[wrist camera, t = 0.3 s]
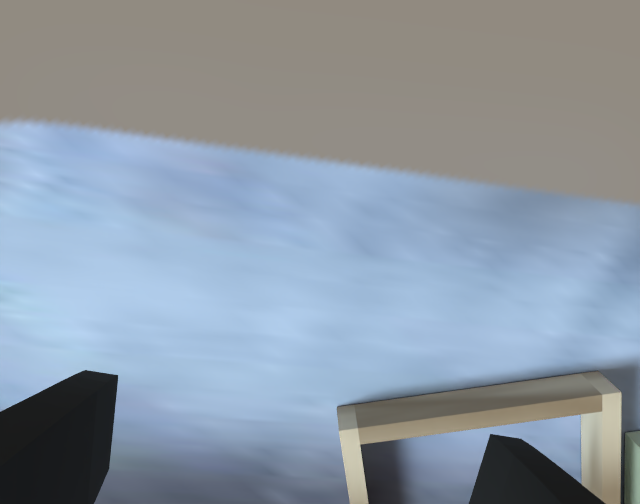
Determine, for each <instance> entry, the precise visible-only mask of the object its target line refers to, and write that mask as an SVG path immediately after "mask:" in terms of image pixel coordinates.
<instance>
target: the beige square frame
mask: <svg viewBox="0 0 640 504" xmlns="http://www.w3.org/2000/svg"><path fill="white" fill-rule="evenodd" d="M621 396H622V392H621V391H620V390H619V389H618V388H616V387H615V386H614V385H613V384H612V383H611V382H610V381H609V380H608V379H607V378H605V377H604V376H603V375H602V374H601V373H600V372H599V371H594V372H586V373H579V374H572V375H565V376H557V377H550V378H543V379H536V380H528V381H521V382H514V383H507V384H499V385H492V386H485V387H478V388H471V389H463V390H456V391H449V392H442V393H434V394H427V395H420V396H413V397H405V398H398V399H391V400H384V401H376V402H369V403H362V404H355V405H348V406H340V407H337V415H338V426H339V435H340V441H341V448H342V454H343V461H344V467H345V474H346V480H347V487H348V493H349V500H350V504H368V496H367V489H366V482H365V475H364V468H363V461H362V454H361V447H360V445H361V444H368V443H376V442H383V441H390V440H397V439H405V438H412V437H419V436H427V435H434V434H441V433H449V432H456V431H463V430H471V429H478V428H485V427H493V426H500V425H507V424H515V423H522V422H529V421H537V420H544V419H551V418H558V417H566V416H573V415H580V414H581V469H582V485H583V486H584V487H585V488H587V489H588V490H589V491H590V492H592V493H593V494H594V495H595V496H597V497H598V498H599V499H600V500H602V501H603V502H604V503H606V504H620V487H621Z"/></svg>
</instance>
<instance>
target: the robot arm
mask: <svg viewBox="0 0 640 504" xmlns="http://www.w3.org/2000/svg"><path fill="white" fill-rule="evenodd" d="M117 383H118V375H113V374H106V373H100V372H93V371H87V370H85V371H82V372H80V373H78V374H75V375H73V376H71V377H69V378H67V379H65V380H63V381H61V382H59V383H57V384H55V385H53V386H51V387H49V388H47V389H45V390H43V391H41V392H39V393H37V394H35V395H33V396H31V397H29V398H27V399H25V400H23V401H21V402H19V403H17V404H15V405H13V406H11V407H9V408H7V409H5V410H3V411H1V412H0V504H94V502H95V500H96V498H97V495H98V493H99V491H100V488H101V486H102V484H103V482H104V479H105V477H106V475H107V472H108V470H109V463H110V453H111V443H112V433H113V423H114V413H115V403H116V393H117ZM469 504H606V503H604V502H603V501H602V500H600V499H599V498H598V497H597V496H595V495H594V494H593V493H592V492H590V491H589V490H588V489H587V488H585V487H584V486H583V485H582V484H580V483H579V482H578V481H577V480H575V479H574V478H573V477H571V476H570V475H569V474H568V473H566V472H565V471H564V470H563V469H561V468H560V467H559V466H558V465H556V464H555V463H554V462H552V461H551V460H550V459H549V458H547V457H546V456H545V455H543V454H542V453H541V452H539V451H538V450H537V449H535V448H534V447H532V446H531V445H529V444H528V443H526V442H525V441H523V440H522V439H519V438H512V437H506V436H500V435H493V434H490V437H489V440H488V444H487V447H486V450H485V453H484V457H483V460H482V463H481V466H480V469H479V473H478V476H477V479H476V482H475V486H474V489H473V492H472V495H471V499H470V502H469Z"/></svg>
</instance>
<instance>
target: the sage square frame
mask: <svg viewBox="0 0 640 504" xmlns="http://www.w3.org/2000/svg"><path fill="white" fill-rule="evenodd" d="M624 504H640V431H634V432H627V433H625V479H624Z"/></svg>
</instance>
